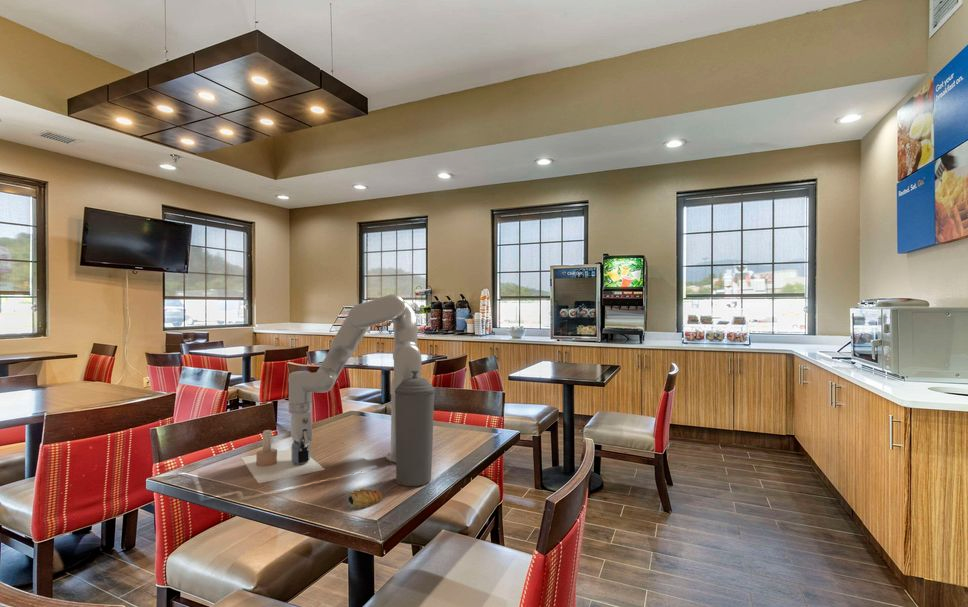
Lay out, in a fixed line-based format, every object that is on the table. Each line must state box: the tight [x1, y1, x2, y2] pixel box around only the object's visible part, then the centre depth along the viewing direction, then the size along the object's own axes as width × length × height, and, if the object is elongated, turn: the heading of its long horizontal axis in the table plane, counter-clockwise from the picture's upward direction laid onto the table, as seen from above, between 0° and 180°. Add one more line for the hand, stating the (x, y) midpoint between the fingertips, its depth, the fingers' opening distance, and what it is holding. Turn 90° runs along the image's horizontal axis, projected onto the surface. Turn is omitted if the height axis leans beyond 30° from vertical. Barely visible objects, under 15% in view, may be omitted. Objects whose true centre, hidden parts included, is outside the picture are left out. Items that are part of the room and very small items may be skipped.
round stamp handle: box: [255, 429, 278, 466], centre depth 152 cm, size 6×6×11 cm
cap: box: [290, 442, 311, 464], centre depth 153 cm, size 6×6×6 cm
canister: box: [395, 370, 436, 487], centre depth 140 cm, size 13×13×35 cm
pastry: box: [346, 488, 383, 510], centre depth 123 cm, size 9×7×4 cm
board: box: [240, 448, 326, 484], centre depth 152 cm, size 30×20×1 cm, turn 38°
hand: (300, 459), depth 153 cm, fingers closed on cap, 5 cm apart
